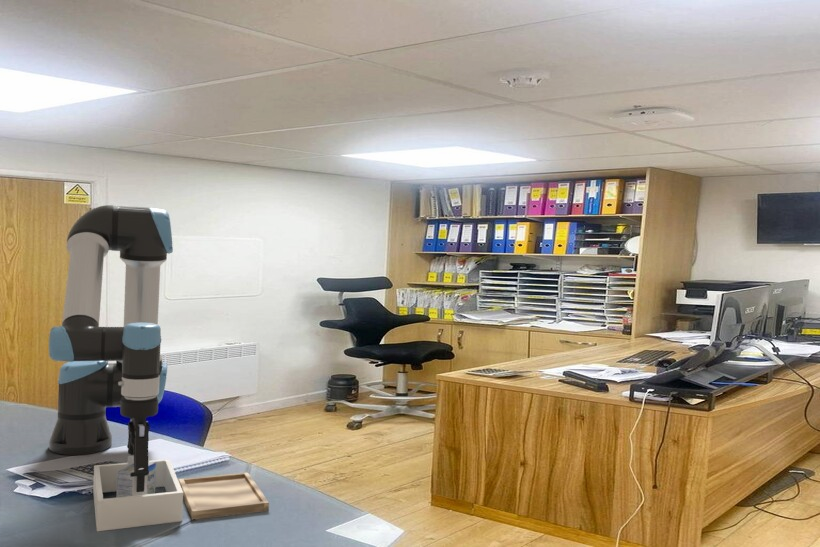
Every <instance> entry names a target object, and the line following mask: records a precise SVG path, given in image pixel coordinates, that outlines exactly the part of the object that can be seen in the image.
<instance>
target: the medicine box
mask: <svg viewBox="0 0 820 547" xmlns="http://www.w3.org/2000/svg"><path fill="white" fill-rule="evenodd" d="M141 469H144V468H140V469H138V470H141ZM148 470H149V474H148V475H147V494H156V487H155V478H156V463H154V462H148ZM132 472H134V464H132V465H130V466H128V467H126V468H124V469H122V470H120V471H118V472H117V491H116V497H115V498H117V497H127V496H132V489H133V477H130V474H131V473H132Z"/></svg>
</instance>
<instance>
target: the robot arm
mask: <svg viewBox="0 0 820 547" xmlns="http://www.w3.org/2000/svg"><path fill="white" fill-rule="evenodd" d="M66 250H67V252H68V254H69V260H68V261H69V262H68V268H67V269H68V270H67V280H66V288H65V298H64V303H63V304H64V305H63V313H62V323H61V325H58V326H53V327H51V329H50V332H49V336H48V337H49V338H48V339H49V340H48V355H49V357H50V360H52V361H55V362H65V363H64V364H62V365H61V366H60V368H59V371H58V380H57V384H58V392H57V395H58V398H57V419H56V421H55V424H54V427H53V429H52V433H51V435H50V438H49V440H48V442H49V444H48V448H49V449H48V450H49V451H51V452H52V453H54V454H59V455H67V456H68V455H71V456H74V455H75V456H78V455H89V454H94V453H98V452H103V451H106V450H107V449H109V448H110V447H112V445H113V443H112V442H113V441H112V440H113V439H112V438H113V437H112V436H113V435H112V433H111V430H110V426H109V424H108V420H107V416H106V411H107V410H106V409H107V408H117V407H118V408H119V410H120V412H119V413H120V415H121V416H122V417H124V418H129V421H128V423H127V431H128V432H127V433H128V437H127V438H128V439H127V440H128V441H127V445H126V447H127V453H128V455H127V463H128V466H130V465H132V464H134V472H132V473H131V474H130V477H133V489H132V496H137V495H146V494H147V475H148V474H149V470H148V461H149V442H150V440H149V438H150V437H149V432H150V424H149V421H148V420H147V419H148V418H149V417H150V418H152V417H154V416H156V415H157V414H158V412H159V404H160V403H161V401H162V400H163V396H164V392H165V389H166V382H167V374H168V364H167V362H164V361H163V357H162V355H161V345H162V344H161V343H162V335H161V334H162V333H161V330H162V329H161V326H160V325H159V324H158V323H159V307H160V306H159V303H160V284H161V283H160V281H161V280H160V279H161V266H162V265H163V264H164V263H165V262H166V261H167V257H168V256H167V255H168V254H169V255H170V254H172V253H173V250H174V249H173V235H172V226H171V218H170V214H169V212H168V211H167V210H166V209H162V208H157V207H156V208H154V207H142V206H124V205H112V204H111V205H108V204H107V205H101V206H97V207H94V208H92V209H90V210H88V211H87V212H86V213H83V215H81V216H80V217H79V218H78V220H76V222H74V224H73V225H72V227H71V229H70V230H69V232H68V234H67V239H66ZM109 251H111V252H114V251H115V252H119V259H120V260H121V261H122V262H123V263H124V264H125V273H124V274H125V277H124V279H125V280H124V306H123V307H124V309H123V326H100V314H101V300H102V286H103V285H102V284H103V272H104V258H105V257H107V255H108V253H109ZM109 362H115V363H109ZM140 468H144V469H141V470H138V469H140Z"/></svg>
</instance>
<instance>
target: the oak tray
mask: <svg viewBox="0 0 820 547" xmlns="http://www.w3.org/2000/svg"><path fill="white" fill-rule="evenodd" d="M178 481H179V484H180V486H181V488H182V491H183V502H184V504H185V505H186V509H187V508H188V509H187V511H188V514H189V513H190V514H189V516H190V518H191V520H192V521H194V520H193V519H196V520H202V519H203V518H204V519H210V518H211V517H212V518H219V517H220V516H221V517H227V516H226V515H229V516H235V515H236V514H237V515H245V514H251V513H252V514H253V513H261V512H268V511H270V510H269V508H270V503H269V502H270V501H268V499H267V497H266V496H265V495H264V493H263V492H262V490H261V488H259V486H258V484H257V483H256V482H255V480H254V479H253V478H252V476H251V475H250V474H249V472H237V473H228V474H219V475H218V474H216V475H206V476H205V475H204V476H196V477H187V478H186V477H185V478H184V477H183V478H178ZM218 516H219V517H218ZM204 519H203V520H204Z"/></svg>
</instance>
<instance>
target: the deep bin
mask: <svg viewBox="0 0 820 547" xmlns="http://www.w3.org/2000/svg"><path fill="white" fill-rule="evenodd" d="M148 462H154V463H156V478H155V488H160V487H161V488H162V487H164V489H165V492H158V493H156V492H155V494H146V495H137V496H127V497H117V496H116V497H117V498H116V497H110V498H104V494H103V493H111V492H117V472H118V471H120V470H122V469H124V468H126V467H128V462H122V463H121V462H120V463H107V464H98V465H93V486H92V487H93V488H92V489H93V490H92V491H93V503H94V504H93V505H94V513H95V514H94V516H95V526H96V527H95V528H96V532H103V531H111V530H120V529H129V528H137V527H145V526H152V525H153V526H154V525H160V524H161V525H162V524H163V525H164V524H168V523H169V524H171V523H177V522H178V523H179V522H182V521H183V508H184V506H183V504H184V499H183V491H182V488H181V486H180V484H179V478H178V477H177V475H176V472H175V469H174V467H173V464H172V462H171V460H170V458H168V459H167V458H165V459H156V460H148Z"/></svg>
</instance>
